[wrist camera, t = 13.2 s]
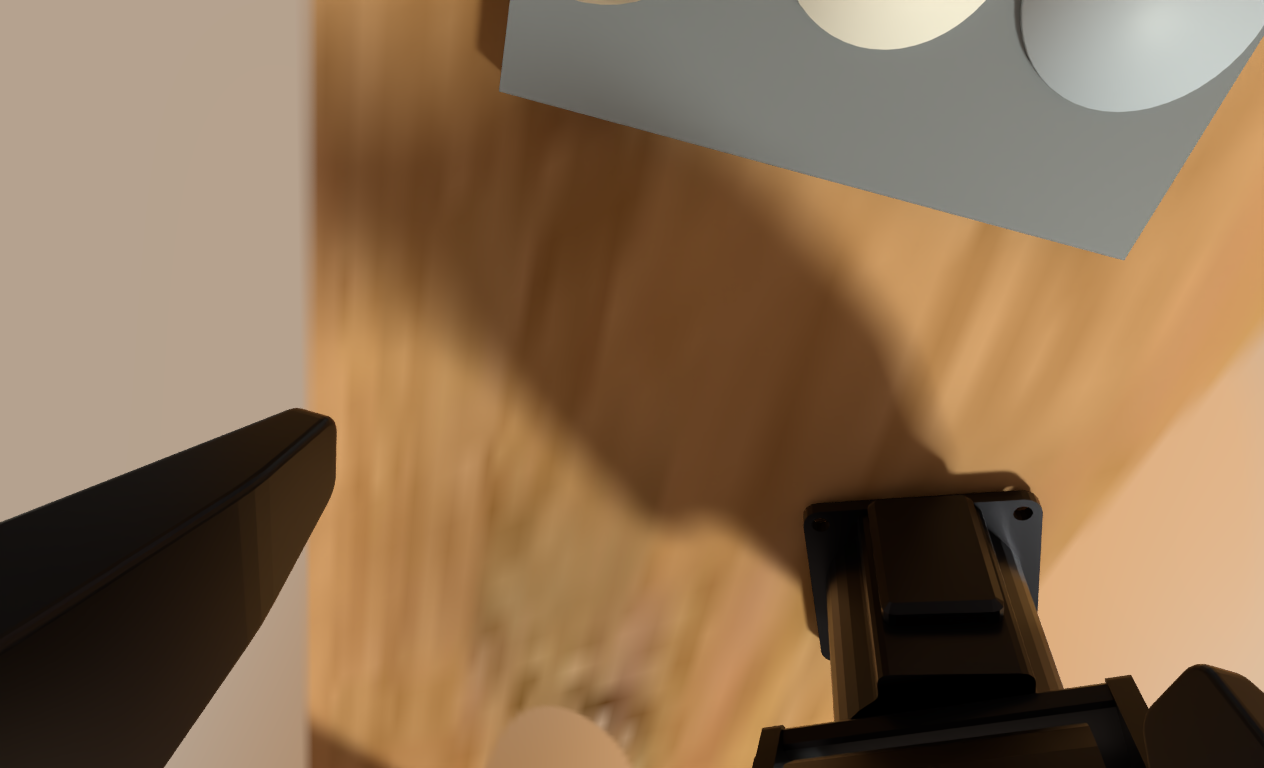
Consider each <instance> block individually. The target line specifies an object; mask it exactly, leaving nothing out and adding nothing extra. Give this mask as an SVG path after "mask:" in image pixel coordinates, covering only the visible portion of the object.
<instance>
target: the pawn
mask: <svg viewBox="0 0 1264 768" xmlns="http://www.w3.org/2000/svg"><path fill="white" fill-rule="evenodd" d="M577 1H580V2H585V3H592V4H599V5H618V4H625V3H631V2H637V1H640V0H577Z"/></svg>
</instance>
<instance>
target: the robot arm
mask: <svg viewBox="0 0 1264 768" xmlns="http://www.w3.org/2000/svg"><path fill="white" fill-rule="evenodd" d="M336 437H337V430H336V425H335V422H334V420H333V419H332V418H330V417H329V416H326V415H322V414H319V413H315V412H312V411H308V410H305V409H299V408H293V409H289V410H286V411H284V412H281V413H279V414H276V415H273V416H271V417H268V418H266V419H263V420H261V421H258V422H256V423H253V424H251V425H248V426H245V427H243V428H241V429H238V430H235V431H233V432H230V433H228V434H225V435H222V436H220V437H217V438H215V439H212V440H210V441H207V442H205V443H202V444H199V445H197V446H194V447H192V448H189V449H187V450H184V451H182V452H179V453H177V454H174V455H171V456H169V457H166V458H164V459H161V460H158V461H156V462H153V463H151V464H148V465H146V466H143V467H141V468H138V469H136V470H133V471H131V472H128V473H125V474H123V475H120V476H118V477H115V478H112V479H110V480H107V481H105V482H102V483H100V484H97V485H95V486H92V487H89V488H87V489H84V490H82V491H79V492H77V493H74V494H72V495H69V496H66V497H64V498H62V499H59V500H56V501H54V502H51V503H49V504H46V505H44V506H41V507H38V508H36V509H33V510H31V511H28V512H26V513H23V514H21V515H18V516H15V517H13V518H11V519H8V520H5V521H3V522H0V768H164V767H165V765H166V764H167V762H168V761H169V759H170V758H171V757H172V755H173V754H174V752H175V751H176V749H177V748H178V746H179V745H180V743H181V742H182V741H183V739H184V738H185V736H186V735H187V733H188V732H189V730H190V729H191V727H192V726H193V725H194V723H195V722H196V720H197V719H198V717H199V716H200V715H201V713H202V712H203V710H204V709H205V707H206V706H207V704H208V703H209V702H210V700H211V699H212V697H213V696H214V694H215V693H216V691H217V690H218V688H219V687H220V686H221V684H222V683H223V681H224V680H225V678H226V677H227V675H228V674H229V672H230V671H231V670H232V668H233V667H234V665H235V664H236V662H237V661H238V660H239V658H240V656H241V655H242V654H243V652H244V651H245V649H246V648H247V646H248V645H249V643H250V642H251V640H252V639H253V637H254V636H255V634H256V633H257V631H258V630H259V628H260V626H261V625H262V623H263V622H264V620H265V618H266V616H267V615H268V613H269V611H270V609H271V608H272V606H273V604H274V602H275V600H276V598H277V597H278V595H279V592H280V591H281V589H282V587H283V585H284V584H285V582H286V580H287V578H288V576H289V574H290V572H291V571H292V569H293V567H294V565H295V563H296V561H297V559H298V557H299V556H300V554H301V552H302V550H303V548H304V546H305V544H306V543H307V541H308V539H309V537H310V535H311V533H312V531H313V529H314V528H315V526H316V524H317V522H318V520H319V518H320V516H321V515H322V513H323V511H324V509H325V507H326V505H327V503H328V501H329V499H330V497H331V495H332V492H333V489H334V485H335V478H336ZM1023 506H1024V507H1028V508H1026V509H1025V510H1022V511H1014V510H1016V509H1017V508H1019V507H1023ZM1042 516H1043V512H1042V507H1041V505H1040V503H1039V500H1038V498H1037V497H1036V496H1035V495H1034V494H1033V493H1031V492H1029V491H1021V490H1018V491H1002V492H987V493H971V494H955V495H939V496H924V497H908V498H892V499H876V500H861V501H845V502H829V503H817V504H812V505H811V506H809V507H807V508H806V510H805V511H804V514H803V526H804V533H805V540H806V547H807V554H808V561H809V568H810V576H811V583H812V590H813V597H814V604H815V611H816V618H817V625H818V632H819V639H820V646H821V652H822V655H823V656H824V657H825V658H826V659H828V660H830V663H831V679H832V694H833V710H834V722H828V723H821V724H814V725H807V726H800V727H793V728H786V729H785V727H784V726H783V725H780V726H773V727H766V728H763V729H762V732H761V736H760V740H759V745H758V749H757V754H756V756H755V758H754V762H753V766H752V768H1264V693H1263V692H1262V691H1261V690H1260V689H1259V688H1258V687H1256V686H1255V685H1254V684H1253V683H1252V682H1251V681H1250V680H1248V679H1247V678H1245V677H1244V676H1242V675H1240V674H1238V673H1235V672H1231V671H1228V670H1224V669H1221V668H1217V667H1214V666H1210V665H1206V664H1197V665H1194V666H1191V667H1189V668H1188V669H1186V670H1185V671H1184V672H1183V673H1182V674H1181V675H1180V676H1179V677H1178V678H1177V679H1176V681H1175V682H1174V683H1173V684H1172V685H1171V686H1170V687H1169V688H1168V689H1167V690H1166V691H1165V692H1164V693H1163V694H1162V695H1161V696H1160V697H1159V698H1158V699H1157V701H1156V702H1154V703H1153V705H1152V706H1151V707H1150V708H1149V709H1148V707H1147V705H1146V703H1145V701H1144V699H1143V697H1142V695H1141V693H1140V691H1139V689H1138V687H1137V686H1136V684H1135V682H1134V680H1133V678H1132V676H1131V675H1127V676H1120V677H1113V678H1105V682H1106V683H1101V684H1094V685H1088V686H1080V687H1074V688H1067V689H1064V688H1063V685H1062V682H1061V680H1060V677H1059V674H1058V671H1057V668H1056V665H1055V662H1054V660H1053V657H1052V654H1051V651H1050V648H1049V645H1048V642H1047V640H1046V637H1045V634H1044V631H1043V628H1042V626H1041V622H1040V620H1039V617H1038V614H1037V610H1038V591H1039V572H1040V554H1041V535H1042ZM819 518H821V519H825V520H826V521H825V522H822V523H820V522H816V521H814V520H816V519H819Z"/></svg>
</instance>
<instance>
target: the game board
mask: <svg viewBox="0 0 1264 768" xmlns="http://www.w3.org/2000/svg"><path fill="white" fill-rule="evenodd" d="M1263 36H1264V0H640V1H637V2H631V3H625V4H618V5H599V4H592V3H585V2H580V1H577V0H510V5H509V13H508V21H507V30H506V38H505V46H504V54H503V62H502V71H501V79H500V87H499V92H503V93H507V94H511V95H514V96H518V97H522V98H525V99H529V100H533V101H536V102H540V103H544V104H547V105H551V106H555V107H559V108H562V109H566V110H570V111H573V112H577V113H581V114H584V115H588V116H592V117H596V118H599V119H603V120H607V121H610V122H614V123H618V124H621V125H625V126H629V127H633V128H636V129H640V130H644V131H647V132H651V133H655V134H658V135H662V136H666V137H670V138H673V139H677V140H681V141H684V142H688V143H692V144H695V145H699V146H703V147H706V148H710V149H714V150H718V151H721V152H725V153H729V154H732V155H736V156H740V157H743V158H747V159H751V160H755V161H758V162H762V163H766V164H769V165H773V166H777V167H780V168H784V169H788V170H792V171H795V172H799V173H803V174H806V175H810V176H814V177H817V178H821V179H825V180H828V181H832V182H836V183H840V184H843V185H847V186H851V187H854V188H858V189H862V190H865V191H869V192H873V193H877V194H880V195H884V196H888V197H891V198H895V199H899V200H902V201H906V202H910V203H914V204H917V205H921V206H925V207H928V208H932V209H936V210H939V211H943V212H947V213H950V214H954V215H958V216H962V217H965V218H969V219H973V220H976V221H980V222H984V223H987V224H991V225H995V226H999V227H1002V228H1006V229H1010V230H1013V231H1017V232H1021V233H1024V234H1028V235H1032V236H1036V237H1039V238H1043V239H1047V240H1050V241H1054V242H1058V243H1061V244H1065V245H1069V246H1072V247H1076V248H1080V249H1084V250H1087V251H1091V252H1095V253H1098V254H1102V255H1106V256H1109V257H1113V258H1117V259H1121V260H1125V258H1126V257H1127V255H1128V253H1129V252H1130V250H1131V248H1132V247H1133V245H1134V244H1135V242H1136V240H1137V239H1138V237H1139V236H1140V234H1141V232H1142V231H1143V229H1144V228H1145V226H1146V224H1147V223H1148V221H1149V219H1150V218H1151V216H1152V215H1153V213H1154V211H1155V210H1156V208H1157V207H1158V205H1159V203H1160V202H1161V200H1162V198H1163V197H1164V195H1165V194H1166V192H1167V190H1168V189H1169V187H1170V186H1171V184H1172V182H1173V181H1174V179H1175V178H1176V176H1177V174H1178V173H1179V171H1180V169H1181V168H1182V166H1183V165H1184V163H1185V161H1186V160H1187V158H1188V157H1189V155H1190V153H1191V152H1192V150H1193V149H1194V147H1195V145H1196V144H1197V142H1198V140H1199V139H1200V137H1201V136H1202V134H1203V132H1204V131H1205V129H1206V128H1207V126H1208V124H1209V123H1210V121H1211V119H1212V118H1213V116H1214V115H1215V113H1216V111H1217V110H1218V108H1219V107H1220V105H1221V103H1222V102H1223V100H1224V99H1225V97H1226V95H1227V94H1228V92H1229V90H1230V89H1231V87H1232V86H1233V84H1234V82H1235V81H1236V79H1237V78H1238V76H1239V74H1240V73H1241V71H1242V70H1243V68H1244V66H1245V65H1246V63H1247V61H1248V60H1249V58H1250V57H1251V55H1252V53H1253V52H1254V50H1255V49H1256V47H1257V45H1258V44H1259V42H1260V40H1261V39H1262V37H1263Z"/></svg>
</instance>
